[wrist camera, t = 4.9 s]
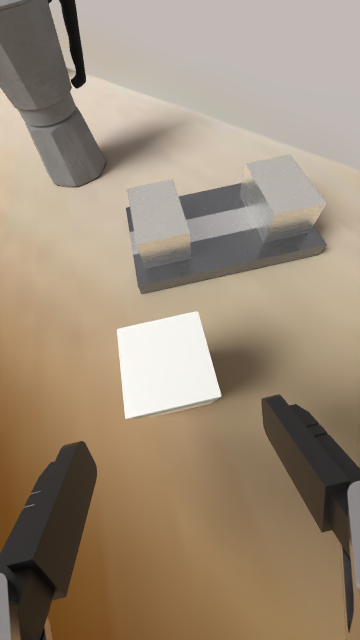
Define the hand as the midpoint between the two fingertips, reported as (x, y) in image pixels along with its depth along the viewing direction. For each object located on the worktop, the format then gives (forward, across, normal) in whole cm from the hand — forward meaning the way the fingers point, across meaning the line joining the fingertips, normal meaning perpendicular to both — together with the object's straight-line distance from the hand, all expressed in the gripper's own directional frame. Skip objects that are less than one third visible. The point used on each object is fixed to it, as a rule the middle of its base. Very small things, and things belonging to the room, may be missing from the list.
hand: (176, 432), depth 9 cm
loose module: (+8, 0, +4) cm, 9 cm away
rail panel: (+20, -8, -7) cm, 23 cm away
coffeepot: (+34, +8, -21) cm, 41 cm away
